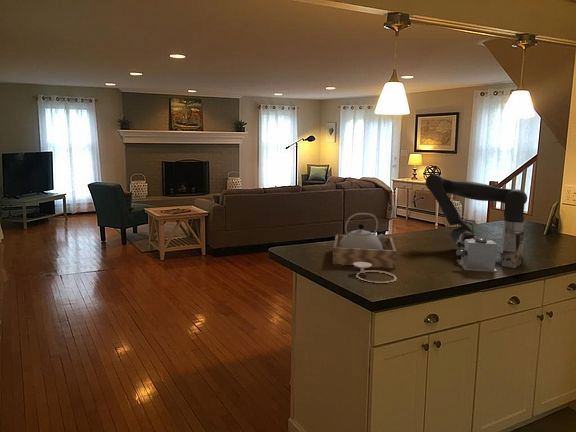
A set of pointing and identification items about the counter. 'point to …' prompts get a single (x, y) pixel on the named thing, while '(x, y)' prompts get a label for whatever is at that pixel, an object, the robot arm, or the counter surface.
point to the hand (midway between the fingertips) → (476, 247)
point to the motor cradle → (478, 255)
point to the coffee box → (512, 248)
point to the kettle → (361, 237)
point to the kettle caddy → (366, 254)
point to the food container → (470, 224)
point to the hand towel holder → (367, 265)
